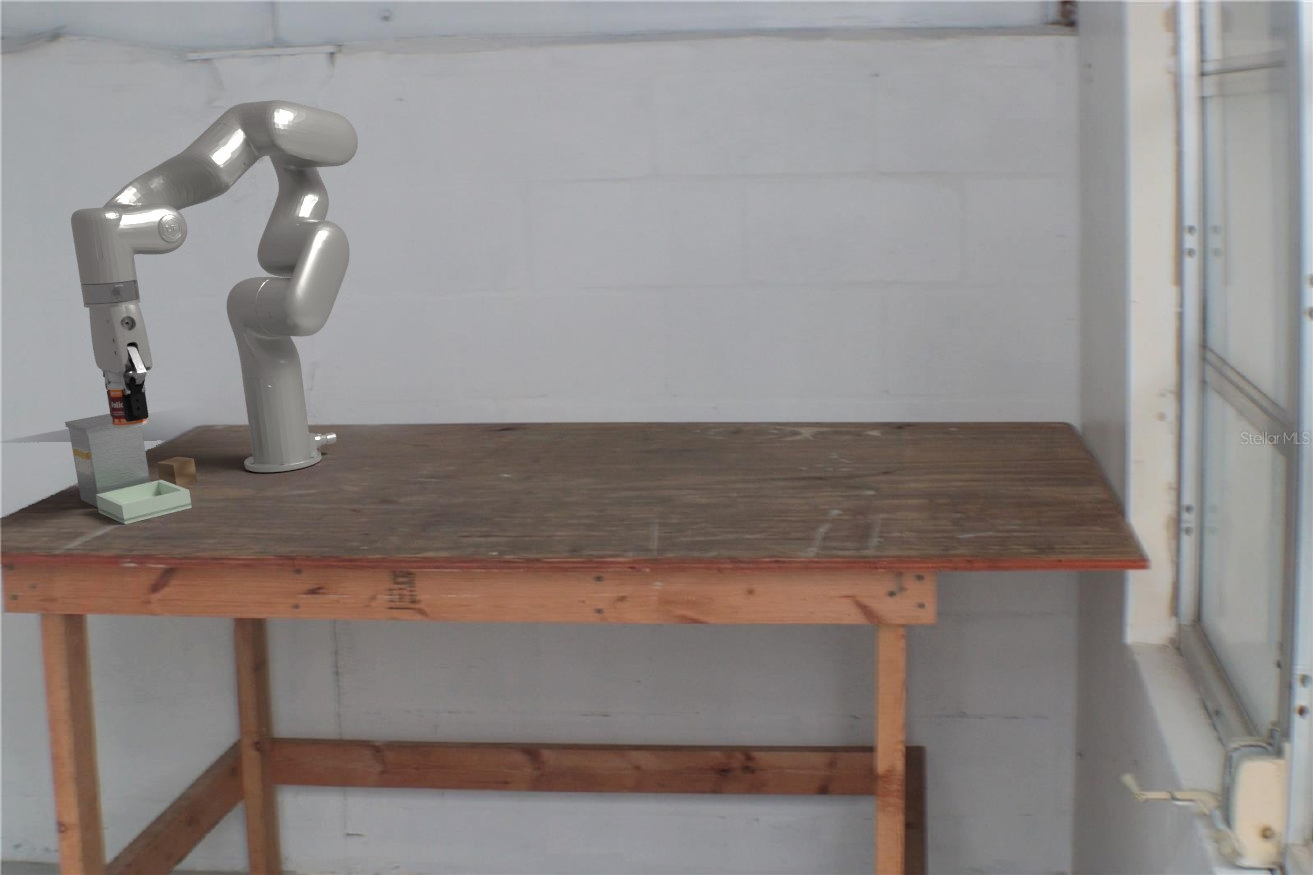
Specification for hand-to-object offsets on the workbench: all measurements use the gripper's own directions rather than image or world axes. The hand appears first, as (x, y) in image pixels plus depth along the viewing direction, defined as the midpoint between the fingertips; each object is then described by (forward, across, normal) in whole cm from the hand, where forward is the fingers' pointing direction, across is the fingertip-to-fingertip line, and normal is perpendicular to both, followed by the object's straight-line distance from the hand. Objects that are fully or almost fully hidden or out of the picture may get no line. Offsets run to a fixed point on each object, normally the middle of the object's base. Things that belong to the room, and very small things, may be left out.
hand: (129, 416), depth 179 cm
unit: (+14, +11, 0) cm, 18 cm away
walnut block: (+15, +11, -10) cm, 21 cm away
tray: (+14, 0, 0) cm, 14 cm away
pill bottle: (+2, 0, 0) cm, 2 cm away
